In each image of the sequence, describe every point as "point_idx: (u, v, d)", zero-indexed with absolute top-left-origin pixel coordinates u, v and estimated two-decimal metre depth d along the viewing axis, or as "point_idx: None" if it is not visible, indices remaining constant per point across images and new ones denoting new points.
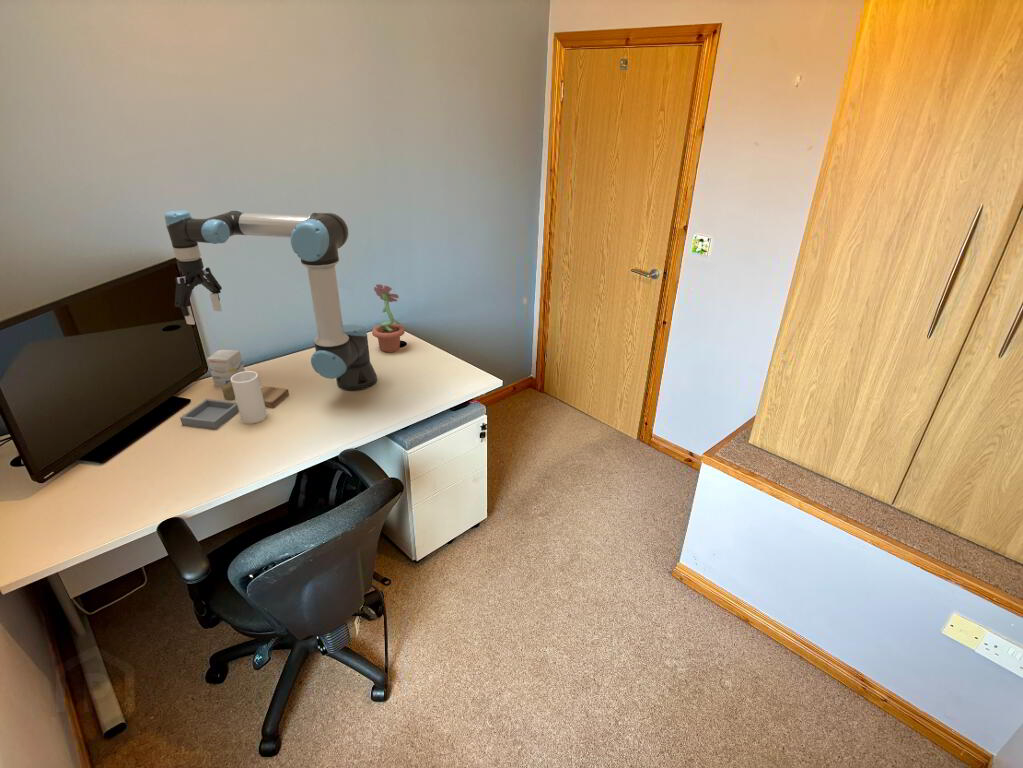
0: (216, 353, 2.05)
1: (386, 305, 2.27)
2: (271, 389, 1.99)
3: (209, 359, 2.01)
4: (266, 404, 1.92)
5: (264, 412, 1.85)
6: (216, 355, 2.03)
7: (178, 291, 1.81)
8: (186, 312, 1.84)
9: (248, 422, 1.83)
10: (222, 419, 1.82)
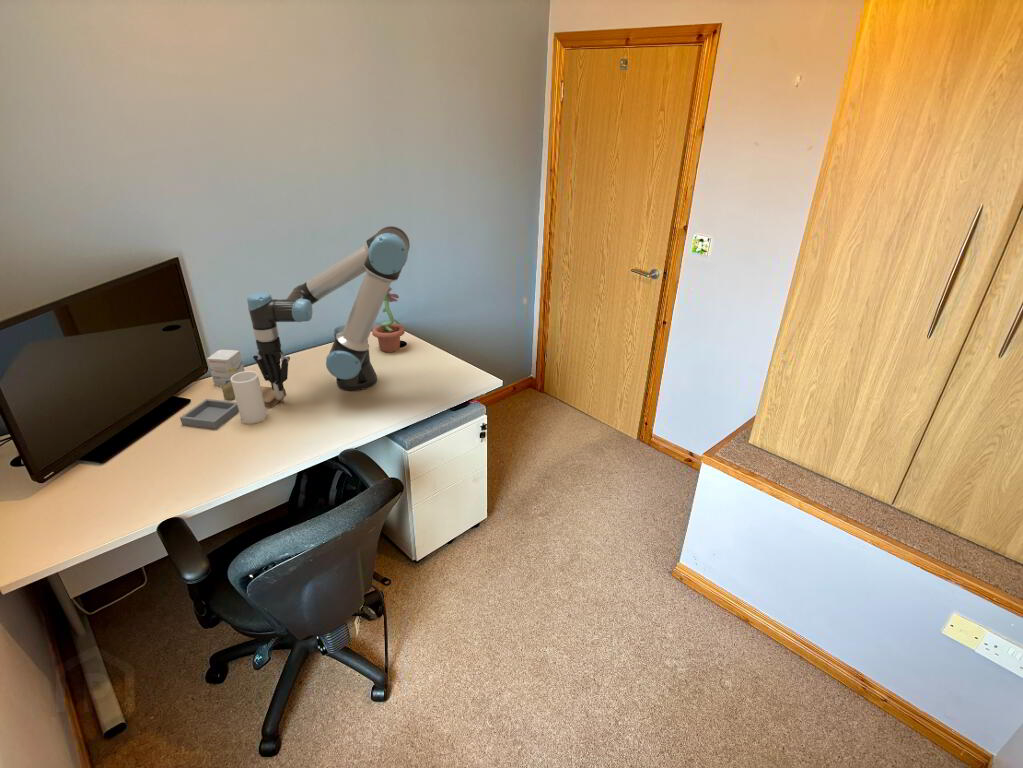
0: (216, 353, 2.05)
1: (386, 305, 2.27)
2: (268, 389, 1.99)
3: (209, 359, 2.01)
4: None
5: (264, 412, 1.85)
6: (216, 355, 2.03)
7: None
8: (272, 386, 1.93)
9: (248, 422, 1.83)
10: (222, 419, 1.82)
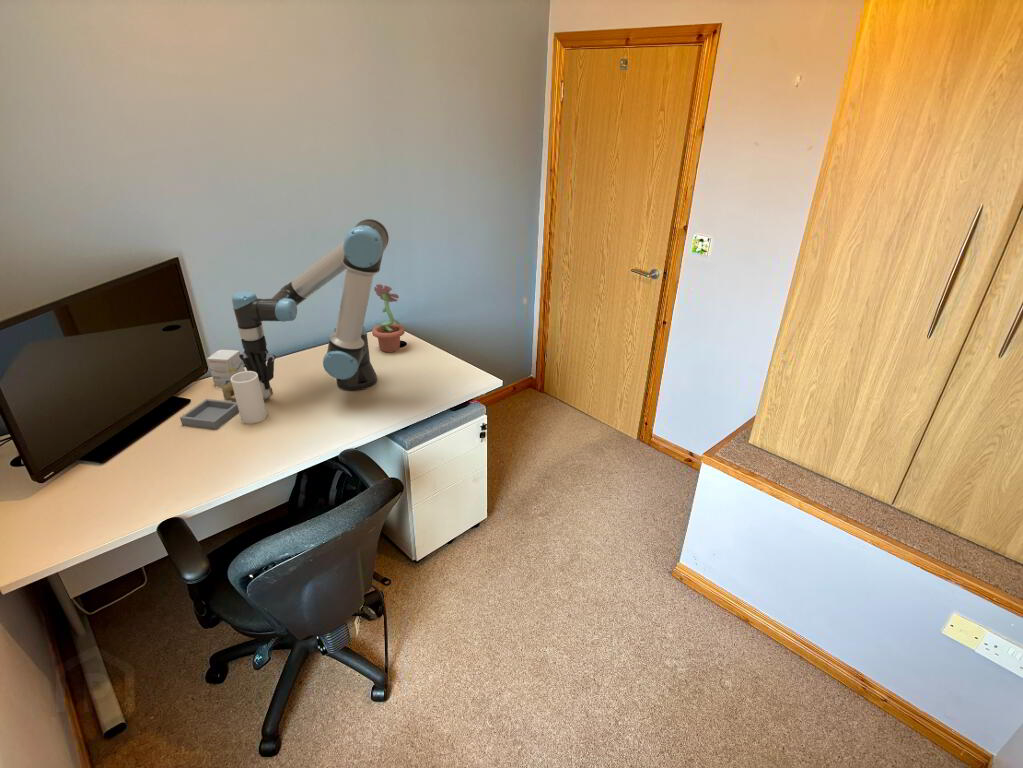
0: (216, 353, 2.05)
1: (386, 305, 2.27)
2: None
3: (209, 359, 2.01)
4: None
5: (264, 412, 1.85)
6: (216, 355, 2.03)
7: None
8: None
9: (248, 422, 1.83)
10: (222, 419, 1.82)
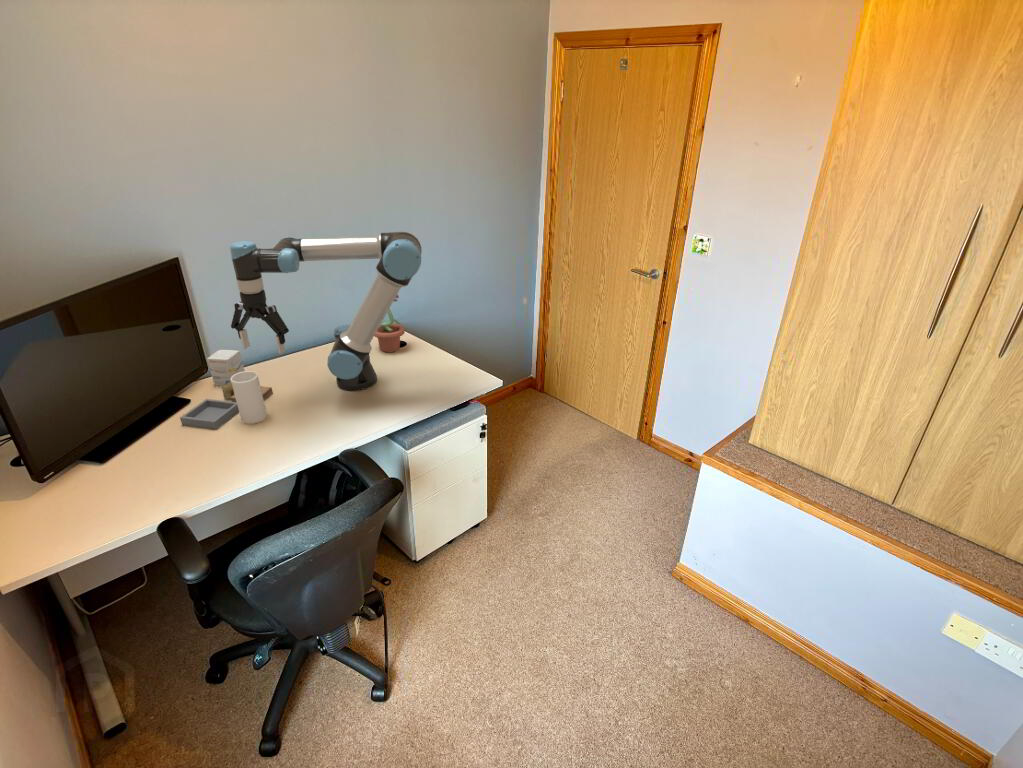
0: (216, 353, 2.05)
1: None
2: None
3: (209, 359, 2.01)
4: None
5: (264, 412, 1.85)
6: (216, 355, 2.03)
7: None
8: (239, 335, 1.84)
9: (248, 422, 1.83)
10: (222, 419, 1.82)
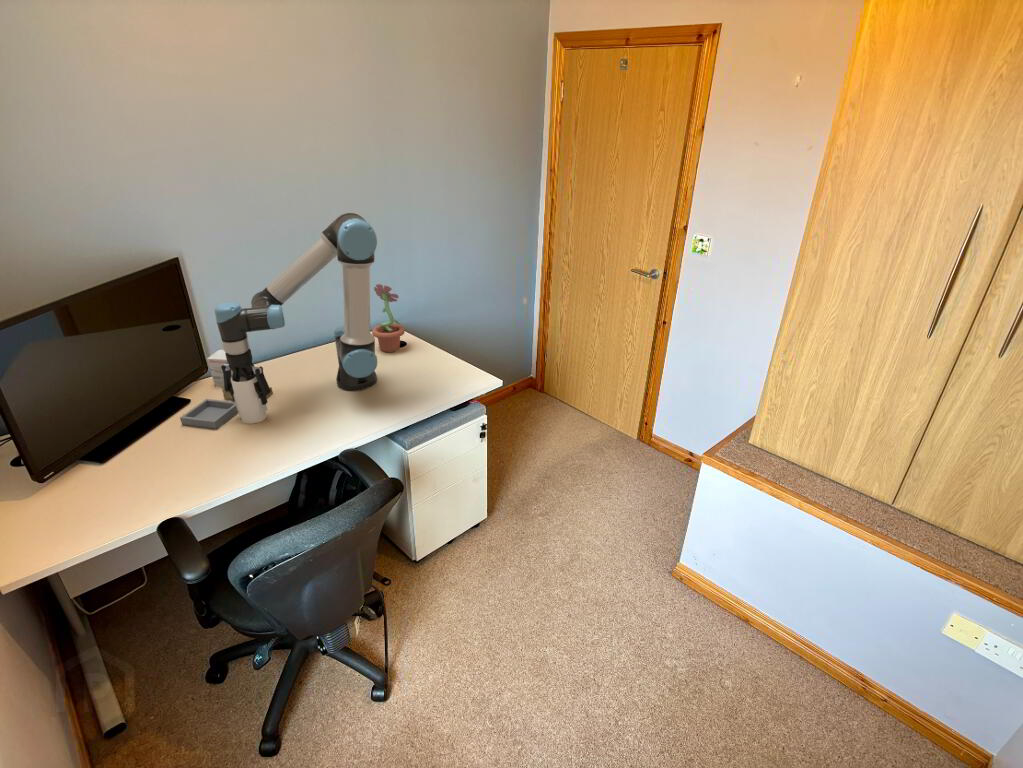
0: (216, 353, 2.05)
1: (386, 305, 2.27)
2: None
3: (209, 359, 2.01)
4: None
5: None
6: (216, 355, 2.03)
7: None
8: (233, 397, 1.83)
9: (248, 422, 1.83)
10: (222, 419, 1.82)
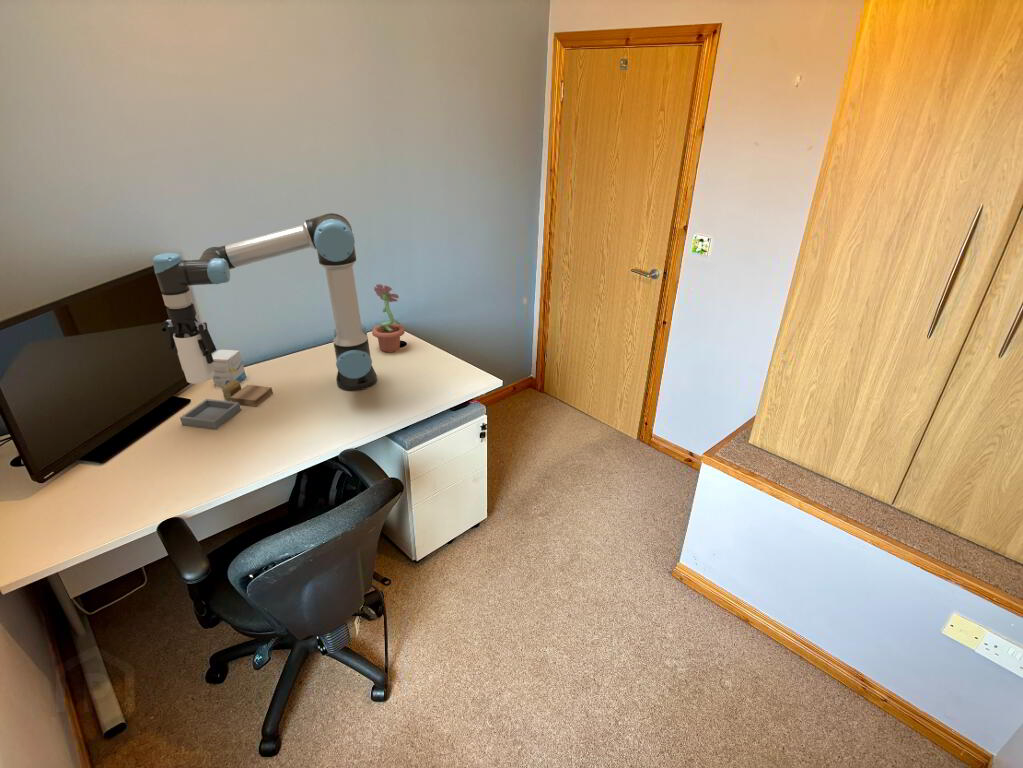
0: (216, 353, 2.05)
1: (386, 305, 2.27)
2: (255, 387, 2.00)
3: None
4: (249, 402, 1.93)
5: None
6: (216, 355, 2.03)
7: None
8: (178, 356, 1.76)
9: (193, 382, 1.75)
10: (222, 419, 1.82)
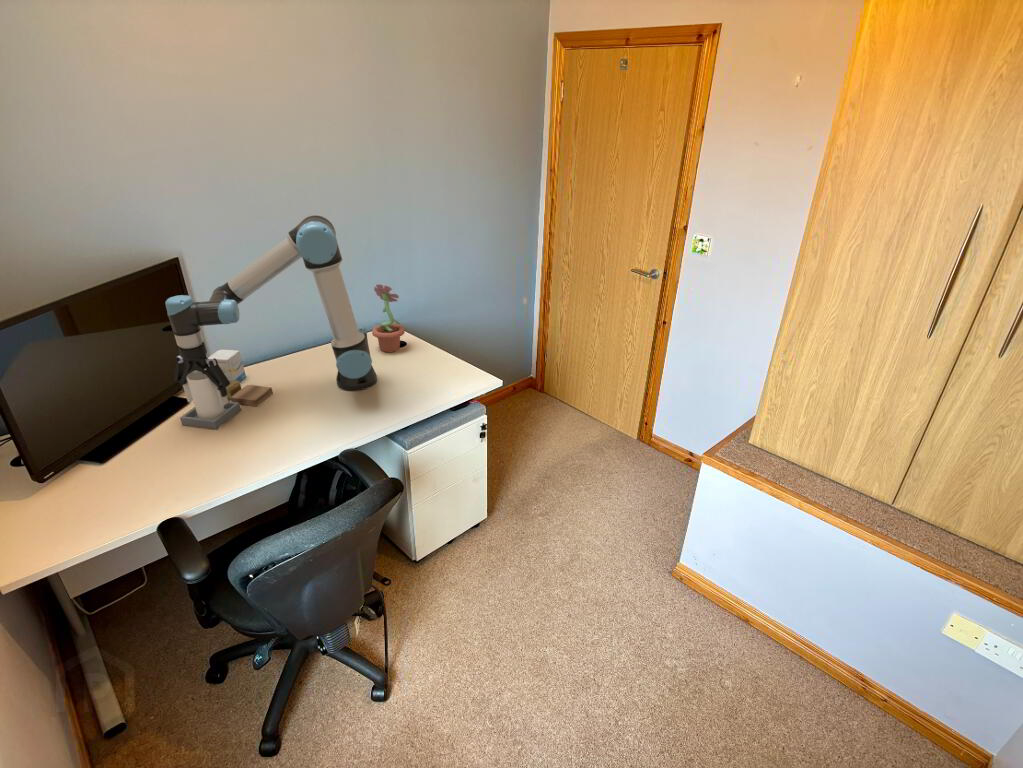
0: (216, 353, 2.05)
1: (386, 305, 2.27)
2: (255, 387, 2.00)
3: None
4: (249, 402, 1.93)
5: (222, 410, 1.84)
6: (216, 355, 2.03)
7: None
8: (183, 388, 1.82)
9: None
10: (222, 419, 1.82)
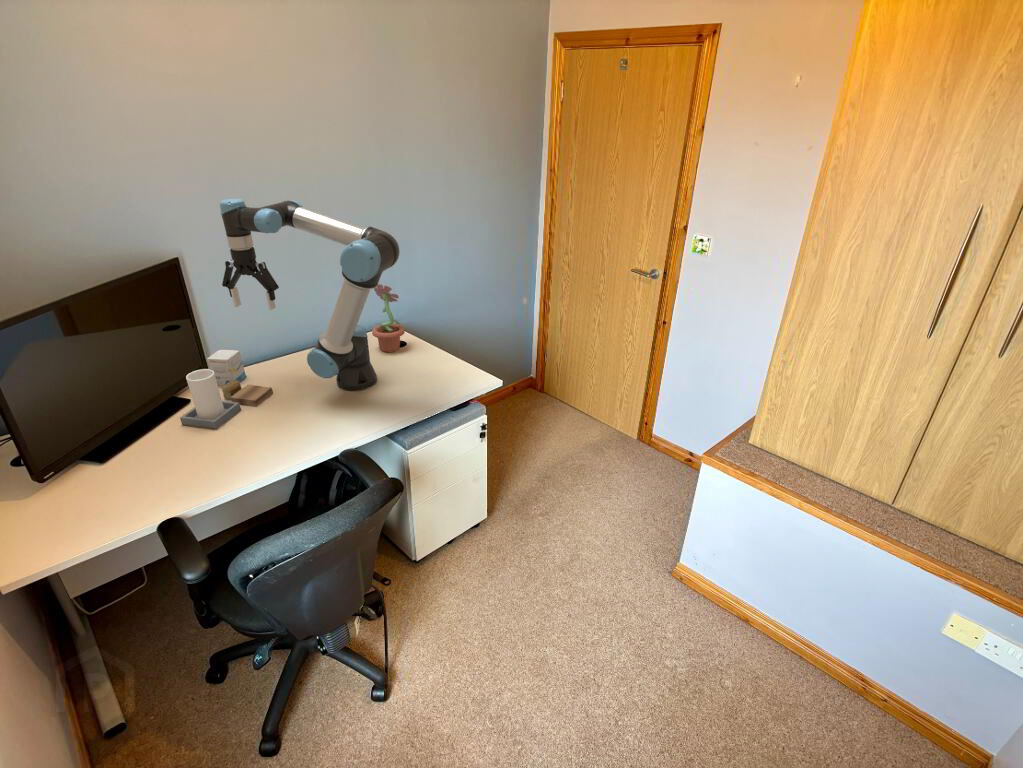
0: (216, 353, 2.05)
1: (386, 305, 2.27)
2: (255, 387, 2.00)
3: (209, 359, 2.01)
4: (249, 402, 1.93)
5: (222, 410, 1.84)
6: (216, 355, 2.03)
7: None
8: (230, 293, 1.90)
9: None
10: (222, 419, 1.82)
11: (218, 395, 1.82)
